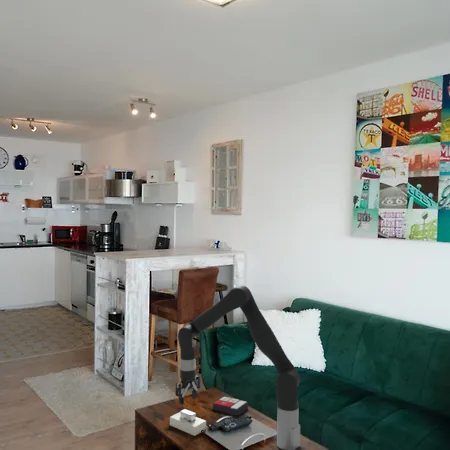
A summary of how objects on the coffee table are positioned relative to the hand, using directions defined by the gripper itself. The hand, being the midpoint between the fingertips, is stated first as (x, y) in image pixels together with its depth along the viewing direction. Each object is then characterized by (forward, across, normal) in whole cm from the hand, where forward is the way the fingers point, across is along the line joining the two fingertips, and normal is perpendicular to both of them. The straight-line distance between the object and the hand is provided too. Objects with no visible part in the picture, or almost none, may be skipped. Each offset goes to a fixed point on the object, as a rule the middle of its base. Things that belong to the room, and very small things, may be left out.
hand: (188, 401), depth 216 cm
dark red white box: (+13, +28, -3) cm, 31 cm away
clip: (+12, 0, 0) cm, 12 cm away
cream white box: (+12, 0, 0) cm, 12 cm away
